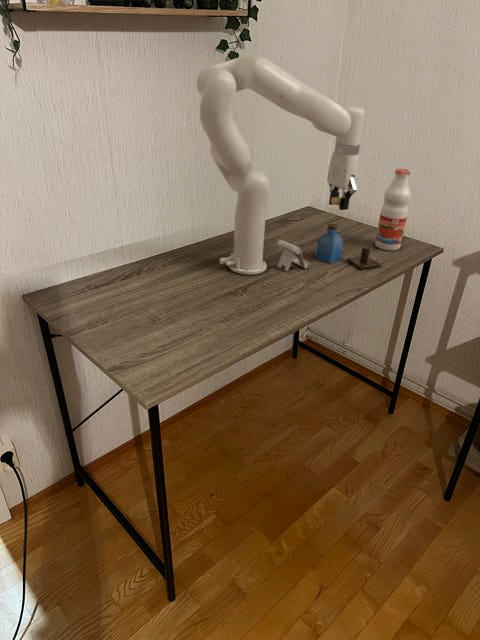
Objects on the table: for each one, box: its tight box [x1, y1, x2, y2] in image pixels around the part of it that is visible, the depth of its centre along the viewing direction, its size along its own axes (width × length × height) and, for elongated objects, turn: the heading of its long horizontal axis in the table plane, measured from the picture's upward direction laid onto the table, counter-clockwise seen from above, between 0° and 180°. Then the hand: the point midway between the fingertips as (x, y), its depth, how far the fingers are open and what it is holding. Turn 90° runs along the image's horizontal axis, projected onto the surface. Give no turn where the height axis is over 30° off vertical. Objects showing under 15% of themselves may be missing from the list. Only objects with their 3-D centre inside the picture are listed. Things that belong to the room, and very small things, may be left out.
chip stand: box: [346, 245, 381, 271], centre depth 167 cm, size 8×8×6 cm
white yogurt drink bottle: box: [374, 168, 412, 251], centre depth 177 cm, size 9×9×28 cm
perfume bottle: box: [315, 223, 344, 264], centre depth 168 cm, size 6×6×12 cm
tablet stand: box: [277, 239, 310, 272], centre depth 162 cm, size 9×8×8 cm
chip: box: [331, 196, 342, 206], centre depth 161 cm, size 5×5×1 cm
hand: (338, 206), depth 162 cm, fingers closed on chip, 5 cm apart
